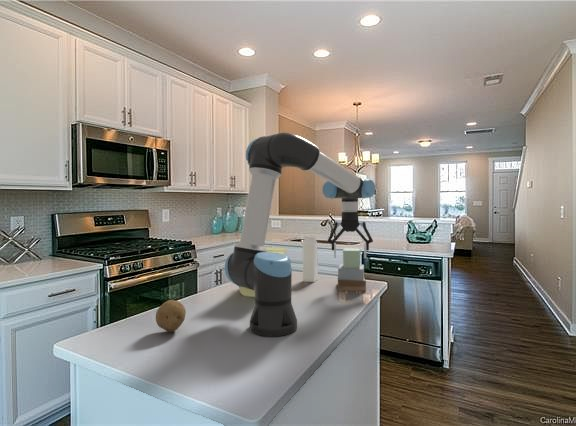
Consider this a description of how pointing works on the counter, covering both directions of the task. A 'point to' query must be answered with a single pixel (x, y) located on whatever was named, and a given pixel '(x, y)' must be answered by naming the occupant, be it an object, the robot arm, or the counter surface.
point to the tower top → (351, 273)
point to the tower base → (351, 285)
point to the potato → (170, 315)
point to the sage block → (351, 258)
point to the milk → (310, 259)
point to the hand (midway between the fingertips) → (350, 257)
